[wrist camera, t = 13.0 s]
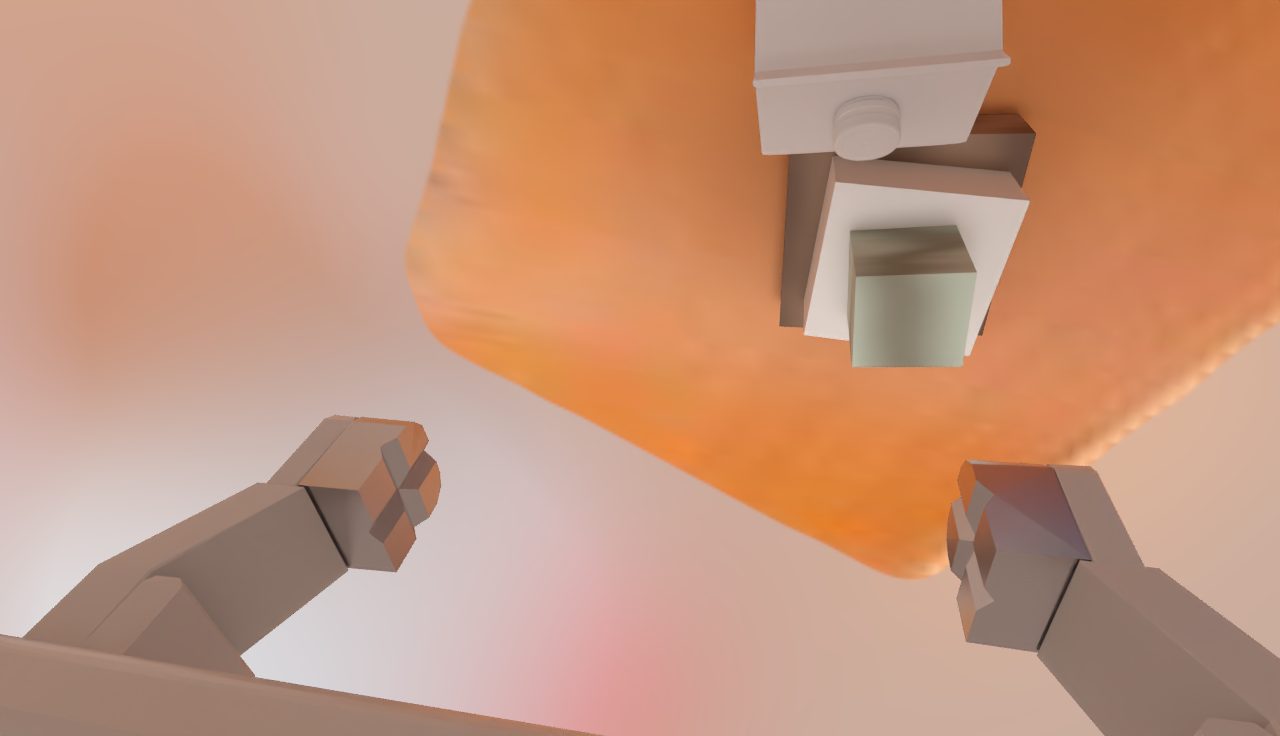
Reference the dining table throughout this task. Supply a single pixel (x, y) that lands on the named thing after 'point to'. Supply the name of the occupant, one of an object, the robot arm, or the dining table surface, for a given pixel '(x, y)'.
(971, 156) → the walnut base slab
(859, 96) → the milk carton
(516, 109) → the dining table surface
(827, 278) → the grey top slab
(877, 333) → the sage cube
